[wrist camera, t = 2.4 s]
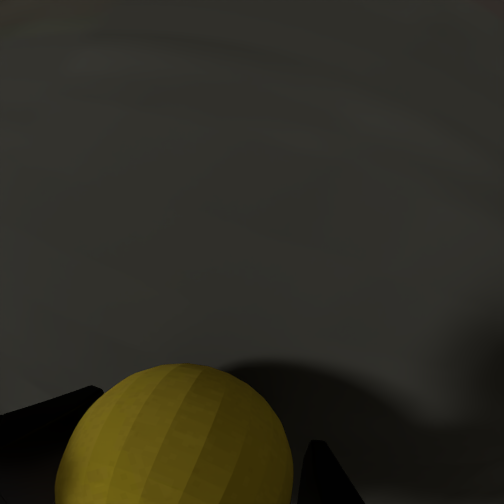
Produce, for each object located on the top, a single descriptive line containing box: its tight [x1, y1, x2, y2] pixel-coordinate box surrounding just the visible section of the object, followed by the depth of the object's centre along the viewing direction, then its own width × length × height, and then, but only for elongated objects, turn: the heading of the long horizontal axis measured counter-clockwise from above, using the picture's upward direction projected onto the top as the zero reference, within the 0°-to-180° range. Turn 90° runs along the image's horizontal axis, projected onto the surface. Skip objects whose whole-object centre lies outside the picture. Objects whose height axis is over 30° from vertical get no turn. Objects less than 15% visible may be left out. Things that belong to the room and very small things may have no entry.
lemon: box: [55, 363, 293, 504], centre depth 6 cm, size 6×6×8 cm
